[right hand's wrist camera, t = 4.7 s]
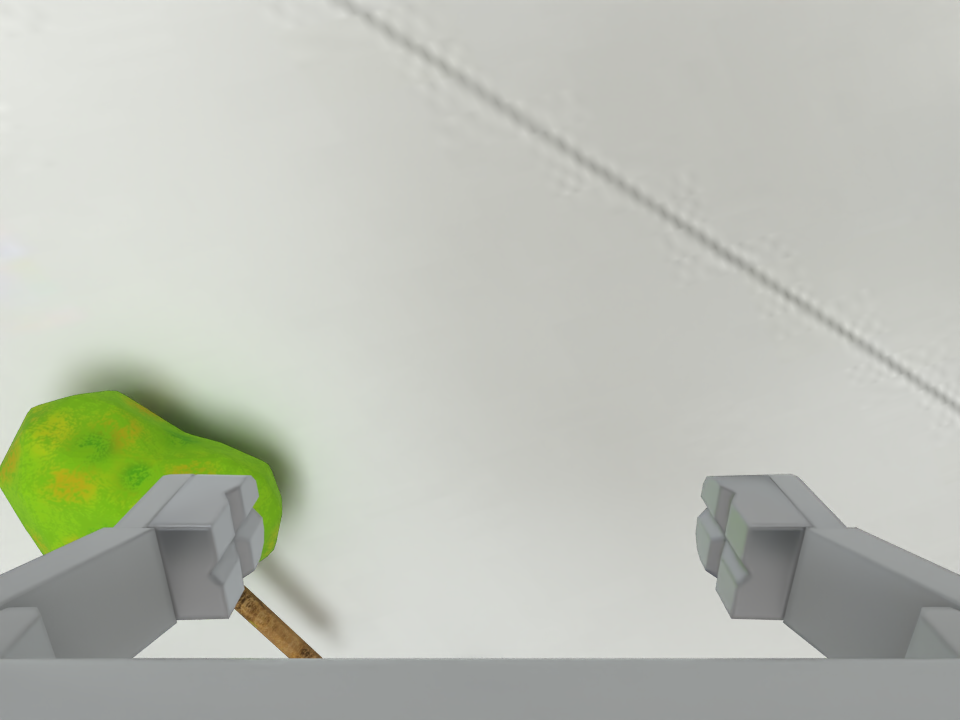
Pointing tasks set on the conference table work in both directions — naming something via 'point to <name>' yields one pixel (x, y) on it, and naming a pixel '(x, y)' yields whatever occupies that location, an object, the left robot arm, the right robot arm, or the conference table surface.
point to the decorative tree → (124, 479)
